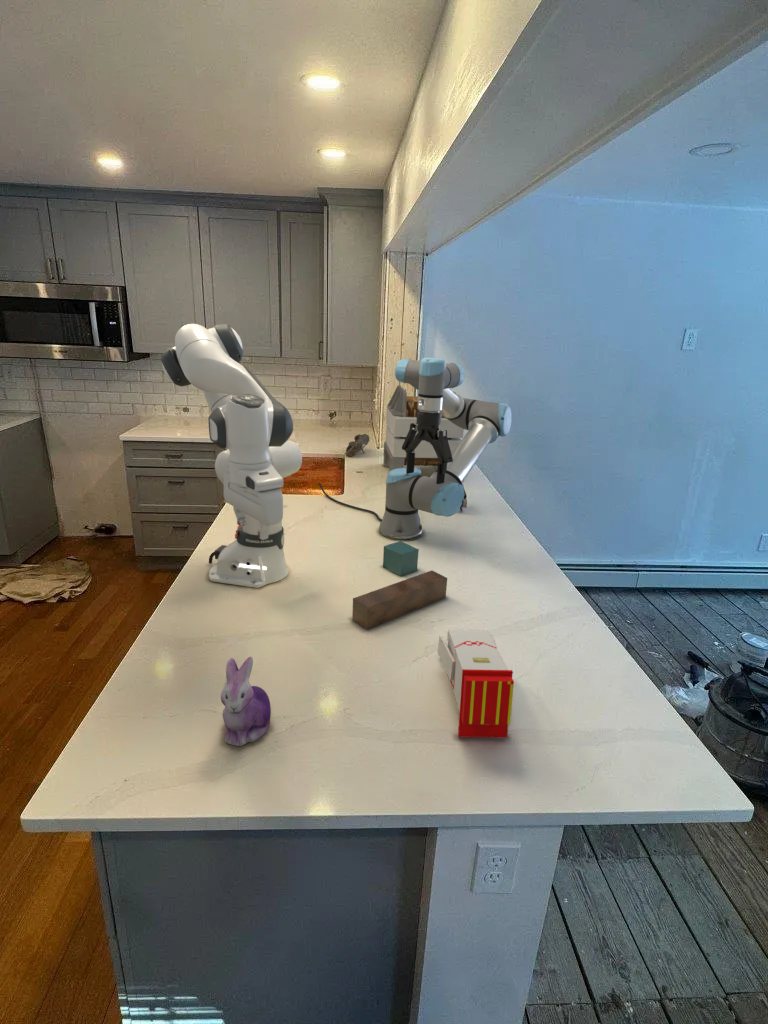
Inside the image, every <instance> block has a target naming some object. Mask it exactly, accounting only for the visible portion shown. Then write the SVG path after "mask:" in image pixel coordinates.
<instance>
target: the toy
mask: <svg viewBox="0 0 768 1024" xmlns="http://www.w3.org/2000/svg"><path fill="white" fill-rule="evenodd" d="M446 640H447V643H446V641H445V639H444V636H443V635H442V634H439V637H438V646H437V656H438V657H439V659H440V661H441V663H442V666H443V668H444V670H445V672H446V674H447V677H448V679H449V681H450V684H451V687H452V690H453V693H454V697H455V701H456V705H457V708H458V711H459V714H458V715H459V716H458V730H457V731H458V732H457V737H458V738H508V731H509V726H510V725H511V717H512V707H513V697H514V696H513V695H514V684H515V680H514V679H513V673H514V671H513V670H512V669H508V667H507V665H506V662H505V661H504V659H503V658H502V655H501V653H500V651H499V649H498V647H497V643H496V639H495V637H494V635H493V634H491V632H490V631H489V629H467V628H466V629H465V628H463V629H461V628H460V629H459V628H448V630H447V639H446Z"/></svg>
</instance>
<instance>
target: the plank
mask: <svg viewBox="0 0 768 1024" xmlns="http://www.w3.org/2000/svg"><path fill="white" fill-rule="evenodd" d="M447 585H448V577H446V576H444V575H443V574H441V573H438V572H436V571H435V570H428V571H426V572H423V573H420V574H418V575H414V576H412V577H409V578H406V579H403V580H401V581H398V582H395V583H391V584H390V585H387V586H384V587H381V588H379V589H375V590H372V591H369V592H366V593H363V594H361V595H359V596H356V597H353V598H352V614H351V615H352V616H351V617H352V620H353V621H354V622H355V623H357V624H358V625H360V626H361V627H363V628H364V629H365V630H368V629H371V628H374V627H377V626H378V625H381V624H384V623H387V622H389V621H392V620H393V619H396V618H399V617H401V616H404V615H406V614H408V613H411V612H413V611H416V610H418V609H421V608H422V607H425V606H428V605H430V604H432V603H433V604H434V603H435V602H438V601H440V600H443V599H445V598H446V597H447Z"/></svg>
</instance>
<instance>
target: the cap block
mask: <svg viewBox="0 0 768 1024" xmlns="http://www.w3.org/2000/svg"><path fill="white" fill-rule="evenodd" d="M419 551H420V549H418V548H417V547H415V546H412V545H410V544H409V543H406V542H404V541H403V540H398V541H396V542H393V543H389V544H386V545H384V546H383V554H382V555H383V557H382V568H384V569H386V570H388V571H390V572H392V573H393V574H395V575H397V576H399V577H402V576H405V575H408V574H411V573H414V572H416V571H418V563H419Z"/></svg>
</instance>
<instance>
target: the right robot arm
mask: <svg viewBox="0 0 768 1024" xmlns="http://www.w3.org/2000/svg"><path fill="white" fill-rule="evenodd" d="M394 377H395V379H396V380H397V382H399V383H403V384H407V385H410V386H411V387H412V388H414V389H415V390H416V391H417V396H418V406H417V408H418V409H419V411H418V412H417V420H416V422H417V423H411V424H410V429H409V432H408V434H407V436H406V439H405V441H404V443H403V445H402V450H405V452H406V462H407V465H406V467H404V468H398V469H394V470H391V471H390V470H388V472H387V475H386V480H385V504H384V505H385V507H384V508H385V509H384V513H383V515H382V518H380V517H379V515H378V513H376V512H375V511H374V510H370V509H367V508H362V507H359V506H355V505H351V504H348V503H345V502H342V501H339V500H337V499H336V498H333V497H331V496H330V495H329V494H328V493H327V492H326V491H325V489H324V487H323V485H322V484H321V482H318V483H317V484H318V486H319V488H320V490H321V491H322V493H323V495H325V497H327V499H329V500H330V501H332V502H335V503H337V504H340V505H342V506H345V507H348V508H352V509H355V510H358V511H362V512H367V513H370V514H372V515H374V516H375V517H376V518H377V520H378V521H379V526H378V533H379V534H380V535H381V536H382V537H385V538H387V539H389V540H395V541H410V540H415V539H418V538H420V537H421V536H422V535H423V525H422V524H421V518H420V515H419V511H421V512H425V513H429V514H431V515H432V514H433V515H435V516H439V517H447V518H449V517H451V516H454V515H455V514H457V512H458V511H459V510H460V507H461V505H462V500H463V499H464V490H465V488H464V489H463V487H464V481H465V480H466V478H467V477H468V475H469V473H470V472H471V471H472V469H473V468H474V466H475V465H476V463H477V462H478V461H479V459H480V457H481V456H482V454H483V453H484V452H485V450H486V448H487V447H488V445H489V444H493V443H495V442H496V441H497V439H498V438H499V437H507V436H508V435H509V433H510V430H511V426H512V417H513V416H512V409H511V407H510V405H508V404H507V403H501V402H494V401H487V400H480V399H471V398H467V397H462V396H461V395H460V394H458V393H456V394H454V393H453V390H452V389H454V388H457V387H459V386H461V385H462V384H463V383H464V381H465V379H466V372H465V369H464V367H463V365H461V364H460V363H457V362H456V363H455V362H446V360H445V359H444V358H440V357H423V358H421V360H417V359H411V358H408V359H407V358H404V359H403V358H402V359H400V360H398V361H397V363H396V365H395V369H394ZM440 411H441V412H440ZM441 415H443V416H444V417H445V418H446V419H448V420H449V421H451V422H452V423H453V424H455V425H457V426H459V427H460V428H463V429H464V431H467V432H466V433H465V435H464V436H463V438H461V440H462V441H461V442H460V444H459V445H458V446H457V448H456V449H455V451H454V452H453V453H452V454H451V450H450V446H449V443H448V439H447V430H439V425H440V424H441ZM417 430H418V433H417ZM416 433H417V435H416ZM415 435H416V436H415ZM414 437H415V439H414ZM413 439H414V440H413ZM435 439H436V440H435ZM422 440H423V441H427V442H430V444H431V445H432V446H433V448H434V450H435V452H436V454H437V457H438V459H439V461H440V462H439V463H438V468H437V467H436V468H437V469H435V470H434V471H433V472H432V474H431V475H430V476H426V475H422V470H421V469H420V468H418V467H415V466H414V463H415V453H412V452H415V451H414V450H415V449H416V447H417V446H418V445H419V444H420V442H421V441H422ZM461 508H462V507H461Z"/></svg>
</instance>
